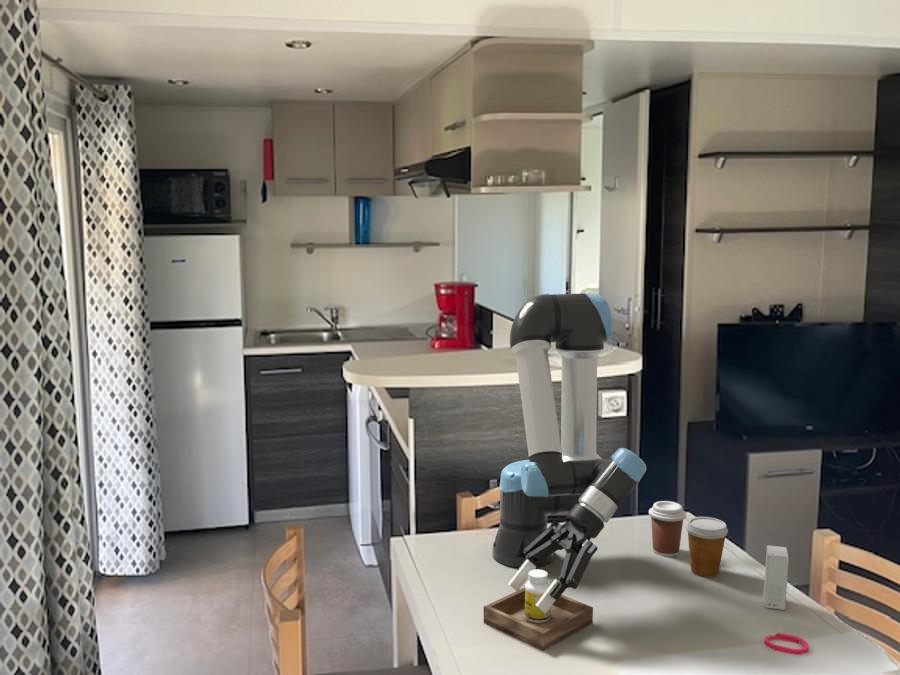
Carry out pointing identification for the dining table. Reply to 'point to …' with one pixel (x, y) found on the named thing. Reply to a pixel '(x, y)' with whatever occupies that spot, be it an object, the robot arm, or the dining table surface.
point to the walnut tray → (561, 625)
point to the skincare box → (776, 577)
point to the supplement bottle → (536, 596)
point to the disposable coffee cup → (706, 545)
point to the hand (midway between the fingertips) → (526, 598)
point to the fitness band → (787, 638)
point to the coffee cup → (666, 527)
